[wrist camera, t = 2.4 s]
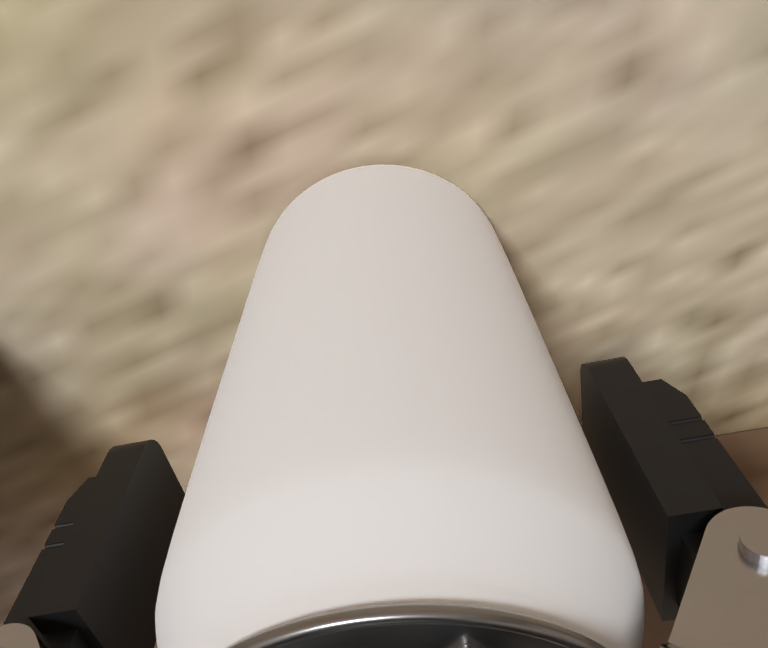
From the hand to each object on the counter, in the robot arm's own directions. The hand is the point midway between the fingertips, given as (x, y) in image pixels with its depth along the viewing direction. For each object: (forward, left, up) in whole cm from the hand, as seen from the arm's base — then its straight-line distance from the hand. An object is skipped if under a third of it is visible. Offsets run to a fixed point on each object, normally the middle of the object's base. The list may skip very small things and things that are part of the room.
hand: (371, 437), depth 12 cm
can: (0, 0, -7) cm, 7 cm away
